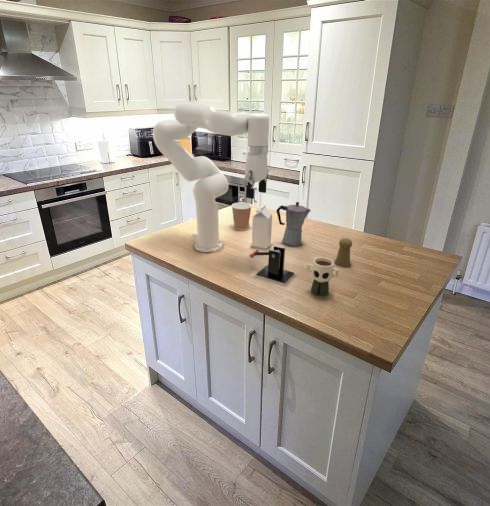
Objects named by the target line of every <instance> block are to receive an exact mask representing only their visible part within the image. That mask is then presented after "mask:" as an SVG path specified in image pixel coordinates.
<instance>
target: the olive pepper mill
mask: <svg viewBox="0 0 490 506" xmlns="http://www.w3.org/2000/svg"><path fill="white" fill-rule="evenodd" d="M338 245H339V248H338V252H337V255H336V258H335V261H334V265H336V266H338V267H342V268H347V267H349V266H351V248H352V246H353V241H352V240H351V239H350V238H348V237H347V238H346V237H344V238H340V240H339V241H338Z"/></svg>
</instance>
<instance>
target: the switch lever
mask: <svg viewBox="0 0 490 506" xmlns="http://www.w3.org/2000/svg"><path fill="white" fill-rule="evenodd" d="M273 250H276V251H280V252H281V249H274V248H273ZM281 255H282V253H281V254H280V256H281ZM255 256H269V251H260V250H259V249H256V250H254V251H253V252H252V253H250V254H249V258H250V259H253V258H254V257H255Z"/></svg>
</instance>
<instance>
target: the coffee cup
mask: <svg viewBox="0 0 490 506" xmlns="http://www.w3.org/2000/svg"><path fill="white" fill-rule="evenodd" d="M252 207H253V205H252V204H251V203H249V202H242V201H241V202H240V201H239V202H234V203H232V204H231V209H232V217H233V225H234V229H236V230H240V231H242V230H247V229H248V228H249V224H250V219H251V210H252Z"/></svg>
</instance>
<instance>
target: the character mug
mask: <svg viewBox="0 0 490 506" xmlns="http://www.w3.org/2000/svg"><path fill="white" fill-rule="evenodd" d="M310 268H312V269H310ZM306 272H307V273H310V274H311V277H312V279H313V281H312V284H311V288H310V293H311V294H312V295H314V296H315V297H318V296H319V298H320V297H321V298H322V297H327V296H329V293H330V283H329V282H330V281H331V280H332V279H333V278H338V277H339V273H340V269H339V268H336V267H335V261H334V260H333V259H331V258H329V257H323V256H318V257H315V258H314V259H313V261H312V263H307V264H306ZM334 272H335V273H334Z"/></svg>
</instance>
